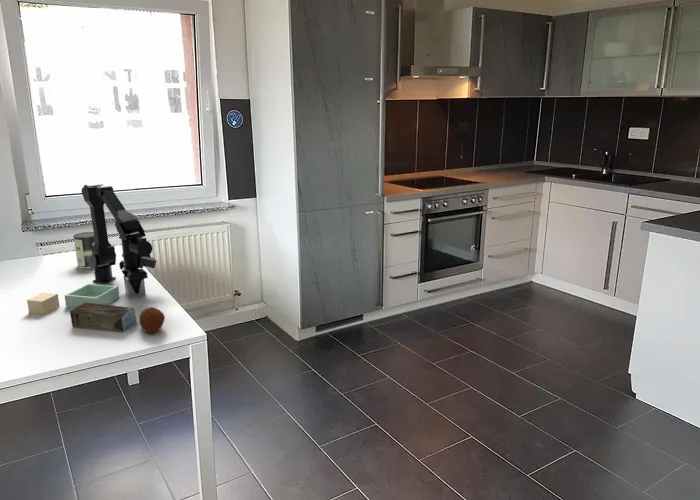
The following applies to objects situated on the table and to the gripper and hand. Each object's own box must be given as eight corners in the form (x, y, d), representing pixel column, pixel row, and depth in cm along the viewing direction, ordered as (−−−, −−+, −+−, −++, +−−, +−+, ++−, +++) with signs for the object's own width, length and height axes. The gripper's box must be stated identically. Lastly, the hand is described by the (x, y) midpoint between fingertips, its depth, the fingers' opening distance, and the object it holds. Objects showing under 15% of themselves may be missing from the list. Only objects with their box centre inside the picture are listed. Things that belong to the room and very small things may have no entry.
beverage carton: (123, 334, 170) (121, 314, 168) (70, 328, 173) (67, 309, 172) (138, 324, 177) (136, 305, 175) (86, 319, 181) (84, 300, 179)
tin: (125, 293, 204) (123, 275, 202) (141, 290, 207) (140, 273, 205) (129, 298, 199) (127, 280, 197) (145, 295, 202) (143, 277, 200)
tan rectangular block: (45, 305, 192) (43, 292, 190) (59, 307, 190) (57, 293, 189) (29, 313, 184) (26, 300, 183) (44, 315, 183) (42, 301, 182)
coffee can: (107, 261, 242) (103, 231, 238) (96, 268, 232) (92, 237, 228) (84, 261, 242) (80, 231, 238) (72, 268, 232) (68, 237, 228)
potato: (158, 321, 179) (156, 299, 177) (171, 333, 170) (169, 310, 168) (135, 327, 174) (133, 304, 172) (146, 339, 166) (144, 315, 163)
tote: (89, 294, 202) (87, 283, 200) (119, 297, 199) (118, 286, 198) (66, 307, 190) (64, 295, 189) (97, 310, 188) (96, 298, 186)
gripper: (159, 254, 195) (163, 294, 200) (147, 243, 210) (150, 280, 215) (127, 259, 189) (132, 300, 194) (117, 247, 204) (121, 285, 209)
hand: (135, 291), depth 203 cm, fingers closed on tin, 6 cm apart
